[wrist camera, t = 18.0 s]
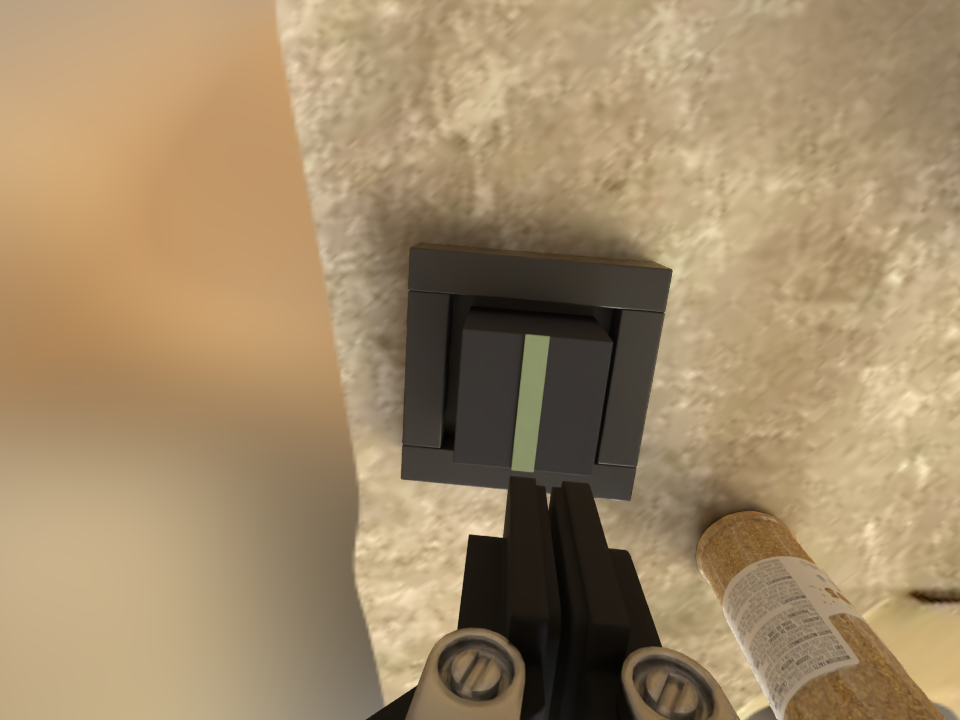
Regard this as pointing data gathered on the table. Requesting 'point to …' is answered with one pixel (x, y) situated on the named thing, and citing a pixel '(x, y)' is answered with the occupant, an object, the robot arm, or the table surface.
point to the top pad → (531, 390)
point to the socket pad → (542, 288)
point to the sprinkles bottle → (802, 628)
